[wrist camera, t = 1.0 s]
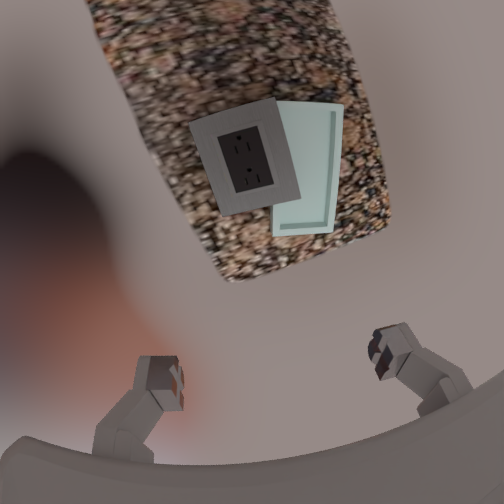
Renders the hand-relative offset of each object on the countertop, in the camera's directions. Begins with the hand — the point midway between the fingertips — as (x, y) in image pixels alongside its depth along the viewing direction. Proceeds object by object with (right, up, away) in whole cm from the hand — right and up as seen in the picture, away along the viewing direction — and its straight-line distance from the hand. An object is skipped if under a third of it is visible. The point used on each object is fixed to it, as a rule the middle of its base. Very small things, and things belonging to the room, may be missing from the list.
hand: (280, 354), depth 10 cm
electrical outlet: (-6, +15, +24) cm, 29 cm away
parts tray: (+6, +15, +25) cm, 30 cm away
